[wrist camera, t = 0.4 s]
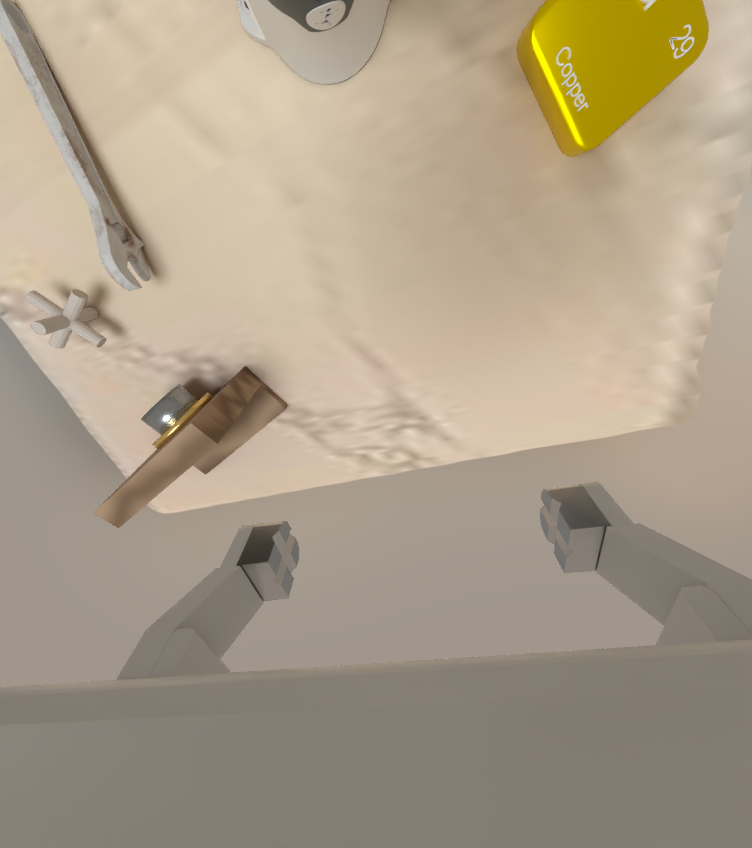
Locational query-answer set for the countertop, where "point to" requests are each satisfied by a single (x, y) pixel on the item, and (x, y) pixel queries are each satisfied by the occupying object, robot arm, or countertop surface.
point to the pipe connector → (65, 319)
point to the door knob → (173, 413)
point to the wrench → (74, 152)
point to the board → (198, 443)
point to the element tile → (606, 61)
